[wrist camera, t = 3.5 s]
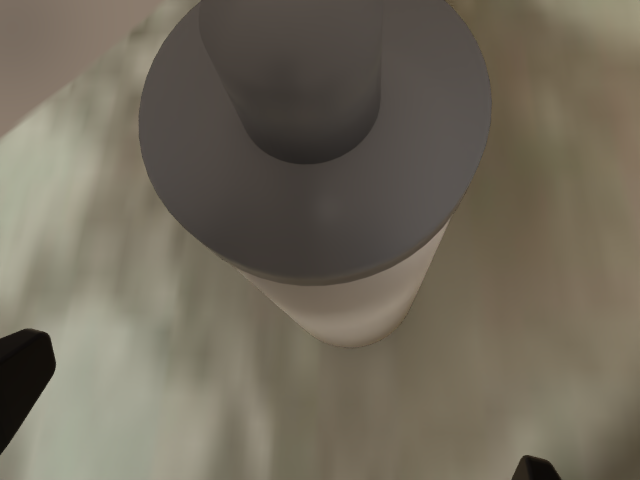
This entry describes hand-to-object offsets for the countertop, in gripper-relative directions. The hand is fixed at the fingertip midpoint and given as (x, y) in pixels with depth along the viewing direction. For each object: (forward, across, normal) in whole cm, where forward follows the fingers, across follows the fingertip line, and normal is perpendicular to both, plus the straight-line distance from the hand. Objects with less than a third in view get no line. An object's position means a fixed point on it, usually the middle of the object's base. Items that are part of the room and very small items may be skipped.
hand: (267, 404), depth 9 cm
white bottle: (+11, 0, +5) cm, 12 cm away
